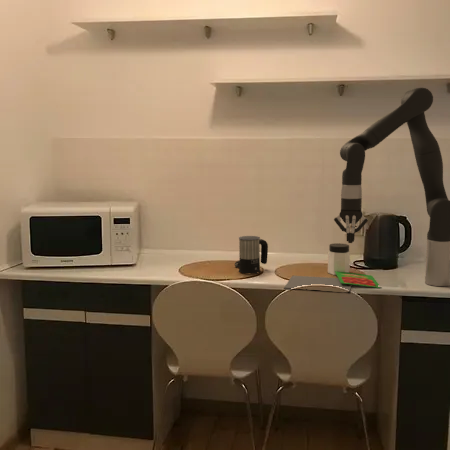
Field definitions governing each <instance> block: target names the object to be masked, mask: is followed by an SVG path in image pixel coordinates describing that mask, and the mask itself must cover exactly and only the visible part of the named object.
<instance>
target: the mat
mask: <svg viewBox="0 0 450 450" xmlns="http://www.w3.org/2000/svg"><path fill="white" fill-rule="evenodd" d="M311 284H325V285H333V286H339V287H342V288H345V289H348V290H350V291H351V288H352V285H351V284H343V283H341V282H340V280H339V278H338V277H325V276H324V277H323V276H309V275H304V276H303V275H292V276H290V279H288V281H287V283H286V284H285V286H284V287H283V289H284V290H291V288H294V287H297V286H302V285H311Z"/></svg>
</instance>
